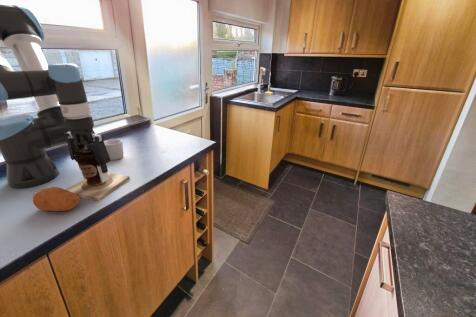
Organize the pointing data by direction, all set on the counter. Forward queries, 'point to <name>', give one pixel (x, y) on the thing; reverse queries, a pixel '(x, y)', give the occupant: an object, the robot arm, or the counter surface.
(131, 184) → the counter surface
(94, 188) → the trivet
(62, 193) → the potato
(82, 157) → the coffee cup
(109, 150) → the cup
